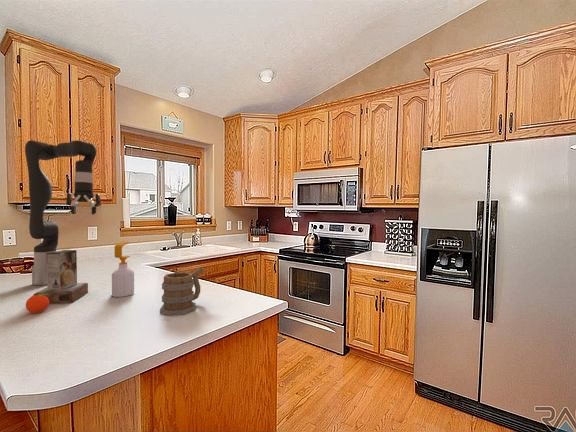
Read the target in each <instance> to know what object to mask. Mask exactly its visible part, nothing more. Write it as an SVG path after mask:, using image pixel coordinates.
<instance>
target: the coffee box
mask: <svg viewBox="0 0 576 432" xmlns="http://www.w3.org/2000/svg"><path fill="white" fill-rule="evenodd" d="M77 257H78V256H77V250H76V249H62V250H58V251H57V250H56V251H55V252H49V253H47V285H46V288H47V289H48V290H62V289H65V288H68V287H71V286H74V285H77V283H78V270H77V269H78V266H77V265H78V263H77V261H78V260H77V259H78V258H77Z"/></svg>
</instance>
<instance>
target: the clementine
mask: <svg viewBox="0 0 576 432" xmlns="http://www.w3.org/2000/svg"><path fill="white" fill-rule="evenodd" d="M45 295H48V294H37V295H32V296H30V297H29V298H27V300H26V302H25V309H26V310H27V312H30V313H32V314H39V313H42V312H43V311H45V310H46V309H47V308H48V307H49V305H50V304H49V299H48V297H47V296H45Z"/></svg>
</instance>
